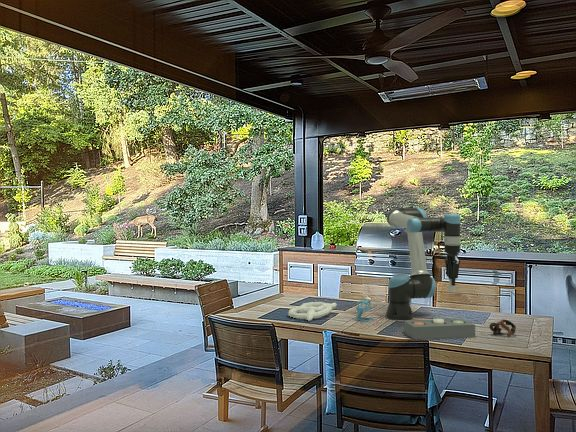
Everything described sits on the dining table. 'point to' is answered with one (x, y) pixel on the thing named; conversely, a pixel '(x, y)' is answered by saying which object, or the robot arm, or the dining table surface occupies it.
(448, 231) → the robot arm
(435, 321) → the cream button
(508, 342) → the dining table surface
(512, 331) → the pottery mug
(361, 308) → the teal overhanging stand
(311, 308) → the pretzel
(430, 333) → the button console
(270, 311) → the dining table surface
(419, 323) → the terracotta button
